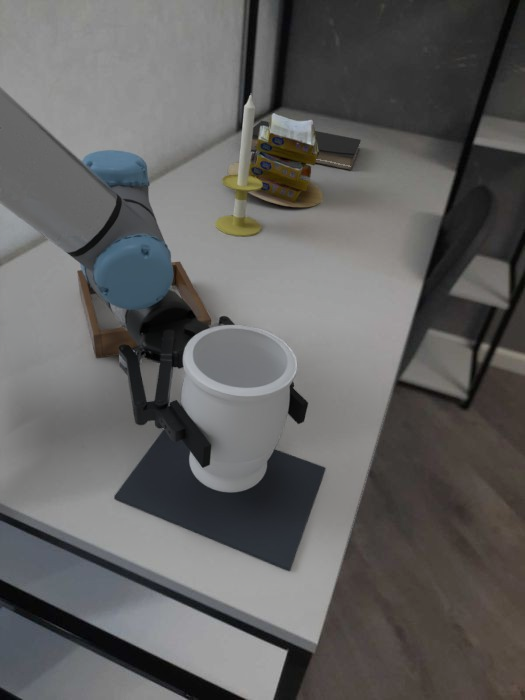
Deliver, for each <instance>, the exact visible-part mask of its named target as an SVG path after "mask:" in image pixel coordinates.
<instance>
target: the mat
mask: <svg viewBox="0 0 525 700" xmlns="http://www.w3.org/2000/svg"><path fill="white" fill-rule="evenodd" d="M189 456H190V450H189V449H188V447H187V446H186V445H185V443H184V442H183V440H180V441H178V442H174V441H173V440H171V439H170V437H169V436H168V434H167V433H166V432H165V430H164V429H163V430H162V431H161V432H160V434H159V435H158V437H156V439H155V441H154V442H153V443H152V444H151V446H150V447H149V448H148V450H147V452H146V453H145V454H144V455H143V457H142V458H141V460H140V461H139V462H138V464H137V465H136V466H135V468H134V469H133V470H132V471H131V473H130V474H129V475H128V477H127V478H126V480H125V481H124V483H123V484H122V485H121V487H120V488H119V489H118V490H117V492H116V493H115V494H114V498H113V499H114V500H115V501H118V502H121V503H123V504H126V505H128V506H130V507H132V508H135V509H138V510H140V511H143V512H144V513H148V514H150V515H151V516H155V517H157V518H159V519H163V520H164V521H167V522H168V523H172V524H174V525H177V526H178V527H181V528H183V529H186V530H188V531H191V532H193V533H196V534H198V535H201V536H203V537H205V538H208V539H211V540H213V541H215V542H218V543H220V544H223V545H224V546H228V547H229V548H232V549H235V550H236V551H239V552H242V553H244V554H246V555H249V556H252V557H254V558H256V559H259V560H261V561H263V562H266V563H269V564H271V565H274V566H275V567H278V568H281V569H283V570H286V571H288V572H290V570H291V568H292V565H293V562H294V560H295V556H296V554H297V551H298V548H299V546H300V545H299V544H300V542H301V539H302V538H303V533H304V531H305V528H306V525H307V523H308V520H309V517H310V515H311V511H312V508H313V505H314V503H315V501H316V500H315V499H316V497H317V494H318V491H319V488H320V486H321V482H322V480H323V477H324V474H325V471H326V467H325V466H323V465H320V464H317V463H314V462H311V461H308V460H305V459H303V458H300V457H298V456H294V455H292V454H289V453H286V452H284V451H281V450H278V449H276V448H275V449H274V451H273V453H272V455H271V456H270V458H269V459H268V461H267V469H266V472H265V474H264V476H263V478H262V479H261V480H260V481H259V482H258V483H257V484H256V485H255V486H253V487H251V488H249V489H247V490H244V491H240V492H221V491H217V490H214V489H211V488H209V487H207V486H206V485H204V484H203V483H201V482H200V481H199V480H198V479H197V478H196V477H195V475H194V474H193V472H192V470H191V467H190V463H189Z"/></svg>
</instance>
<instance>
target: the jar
mask: <svg viewBox="0 0 525 700" xmlns="http://www.w3.org/2000/svg"><path fill="white" fill-rule="evenodd" d="M297 369H298V360H297V356H296V354H295V352H294V351H293V350H292V348H291V347H290V346H289V345H288V344H287V343H286V342H285V341H284V340H283V339H281V338H280V337H279V336H277V335H275V334H273V333H271V332H269V331H267V330H264V329H261V328H258V327H254V326H249V325H242V324H235V325H223V326H217V327H212V328H209V329H206V330H204V331H202V332H200V333H198V334H196V335H195V336H194V337H192V338H191V339H190V340H189V342H188V343H187V345H186V347H185V349H184V354H183V370H184V372H185V374H184V378H183V382H182V388H181V394H180V395H181V396H180V405H181V406H182V407H183V409H184V410H185V411H186V413H187V414H188V415H189V417H190V418H191V419H192V420H193V422H194V423H195V424H196V426H197V427H198V428H199V430H200V431H201V432H202V433H203V435H204V436H205V437H206V439H207V440H208V441H209V442H210V444H211V456H210V465H208V466H206V467H204V468H202V467H201V465H200V464H199V462H198V461H197V460H196V458H195V457H194V456H193V454H192V453H191V451H190V456H189V463H190V467H191V470H192V472H193V474H194V475H195V477H196V478H197V479H198V480H199V481H200V482H201V483H203V484H204V485H206V486H207V487H209V488H211V489H214V490H217V491H221V492H240V491H244V490H247V489H249V488H251V487H253V486H255V485H256V484H257V483H258V482H259V481H260V480H261V479H262V478H263V476H264V474H265V472H266V469H267V461H268V459H269V458H270V456H271V455H272V453H273V451H274V449H276V446H277V443H278V441H279V439H280V437H281V435H282V433H283V431H284V429H285V425H286V422H287V418H288V416H289V414H288V409H289V400H290V385H291V383H292V382H293V383H294V380H295V378H296V373H297Z"/></svg>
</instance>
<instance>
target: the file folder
mask: <svg viewBox="0 0 525 700" xmlns="http://www.w3.org/2000/svg"><path fill="white" fill-rule="evenodd" d="M261 125H263V126H266V127H269V125H270V121H269V123H268V121H267V120H260V121H259V122H258V123H257V124H255V126H253V136H252V145H251V152H253V151H254V152H255V148H254V147H255V146H256V145H257V143H256V142H257V140H258V134H259V129H260V126H261ZM315 135H316V136H315V139H316V141H317V146H318V151H319V155H318V157H317V159H321V160H327V161H332V162H336V163H340V164H345V165H350V166H352V167H348V166H343V165H338V164H334V163H330V162H325V161H320V160H316V162H315V164H317V165H320V166H321V165H322V166H327V167H332V168H337V169H341V170H345V171H346V170H347V171H351V170H352V168H353V165H354V163H355V160H356V157H357V155H358V153H359V149H360V146H359V144H360V145H361V141H362V140H361V139H359V138H355V137H349V136H344V135H339V134H334V133H328V132H323V131H318V130H315ZM358 147H359V148H358ZM357 150H358V151H357ZM356 153H357V154H356ZM355 155H356V156H355ZM354 158H355V159H354Z"/></svg>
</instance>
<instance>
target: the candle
mask: <svg viewBox="0 0 525 700" xmlns="http://www.w3.org/2000/svg"><path fill="white" fill-rule="evenodd" d="M255 113H256V106H255V103H254V101H253V95H252V94H250V95H249V96H248V99H247V101H246V103H245V104H244V106H243V116H242V125H241V127H242V128H241V139H240V150H239V160H238V162H239V170H238V174H236V175H229V174H228V175H225V176H224V177H223V178H221V182H222V185H224V186H225V187H226V188H228V189H230V190H234V191H235V193H234V194H235V196H234V204H233V205H234V206H233V207H234V208H233V214H232V215H224V216H222V217H219V218H218V219H217V220H216V221H215V227H216V229H217V230H218V231H220V232H222V233H224V234H226V235H229V236H232V237H233V236H234V237H242V238H243V237H245V238H246V237H252V236H256V235H258V234H259V233H260V232H261V231H262V227H261V224H260V223H259V222H258V221H257V220H255V219H253V218H252V217H248V216H246V212H247V202H248V194H249V193H248V192H250V191H257V190H260V189H261V188H262V187H263V183H262V182H261V181H260V180H259V179H257V178H254V177H252V176H248V175H249V165H250V159H251V156H252V150H251V145H252V136H253V127H255V126H254V125H255V115H256V114H255Z"/></svg>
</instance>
